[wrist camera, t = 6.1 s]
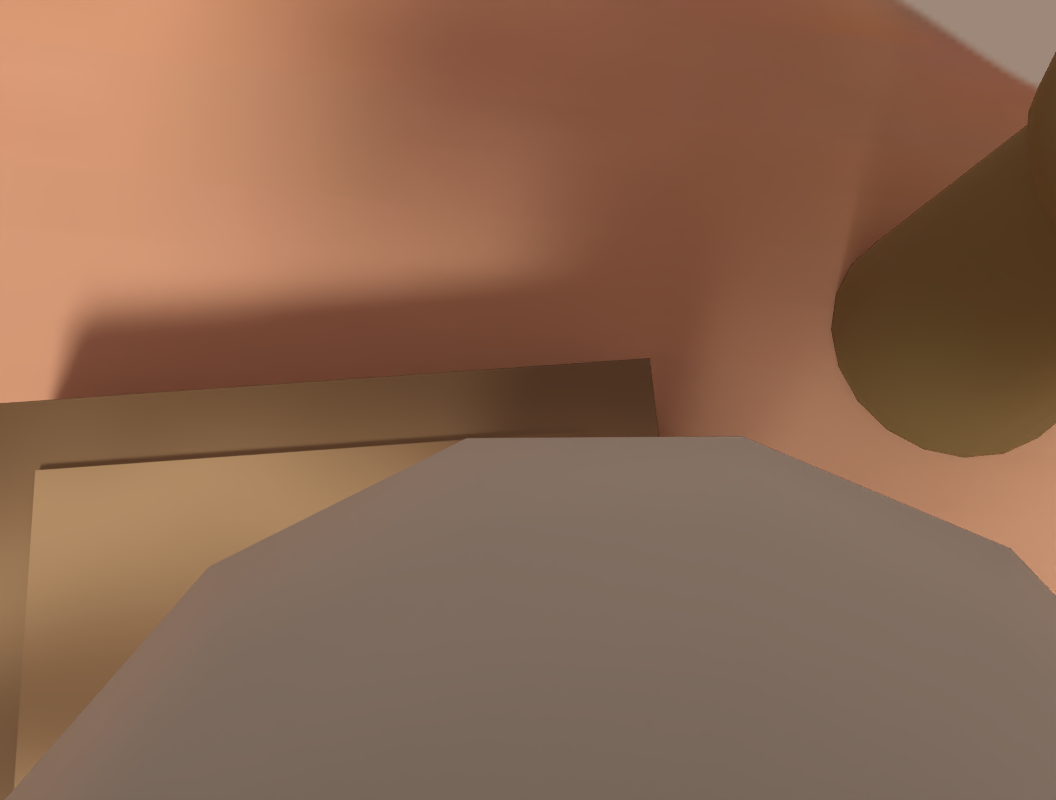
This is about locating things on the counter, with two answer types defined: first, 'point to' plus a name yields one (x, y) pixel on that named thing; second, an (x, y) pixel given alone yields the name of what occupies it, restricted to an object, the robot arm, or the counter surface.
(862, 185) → the counter surface
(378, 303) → the counter surface
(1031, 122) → the pepper shaker
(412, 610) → the salt shaker
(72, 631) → the base board
